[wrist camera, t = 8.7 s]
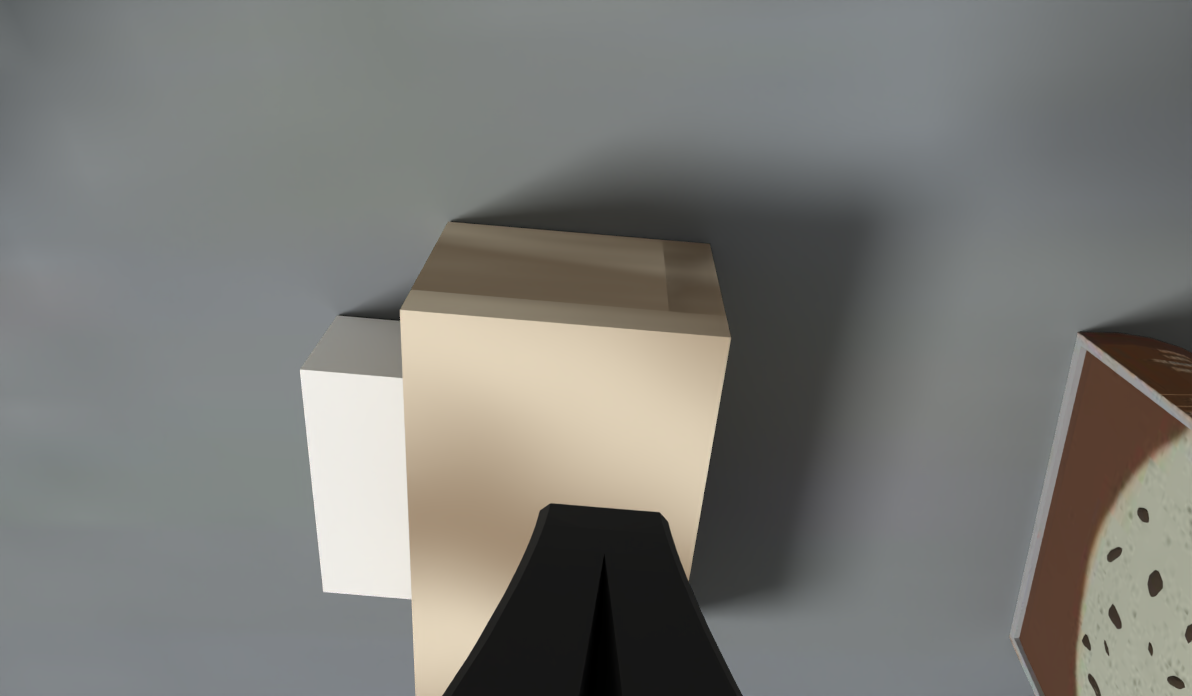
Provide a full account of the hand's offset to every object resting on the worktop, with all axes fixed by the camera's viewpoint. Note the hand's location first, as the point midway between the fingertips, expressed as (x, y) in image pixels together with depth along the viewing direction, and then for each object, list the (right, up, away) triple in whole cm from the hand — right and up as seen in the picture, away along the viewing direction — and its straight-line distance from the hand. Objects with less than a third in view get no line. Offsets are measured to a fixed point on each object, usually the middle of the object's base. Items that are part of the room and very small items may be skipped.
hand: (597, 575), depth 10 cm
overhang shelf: (-1, 0, +11) cm, 11 cm away
